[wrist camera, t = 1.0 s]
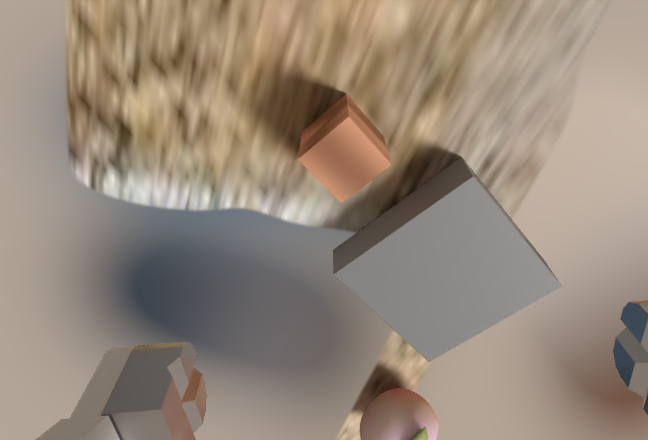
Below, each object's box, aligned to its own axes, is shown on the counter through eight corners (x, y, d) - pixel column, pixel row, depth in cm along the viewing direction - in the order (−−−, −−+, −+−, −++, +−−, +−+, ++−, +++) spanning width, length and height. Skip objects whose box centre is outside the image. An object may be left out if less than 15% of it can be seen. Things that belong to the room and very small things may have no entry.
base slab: (461, 156, 42) (473, 176, 38) (545, 261, 48) (561, 286, 44) (333, 250, 47) (333, 274, 44) (422, 334, 53) (428, 361, 49)
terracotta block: (346, 93, 39) (348, 116, 34) (383, 136, 41) (391, 164, 36) (301, 131, 41) (297, 159, 36) (339, 171, 43) (341, 203, 38)
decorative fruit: (368, 361, 55) (375, 440, 46) (436, 372, 56) (456, 451, 47) (349, 413, 60) (353, 493, 51) (412, 422, 60) (426, 502, 52)
